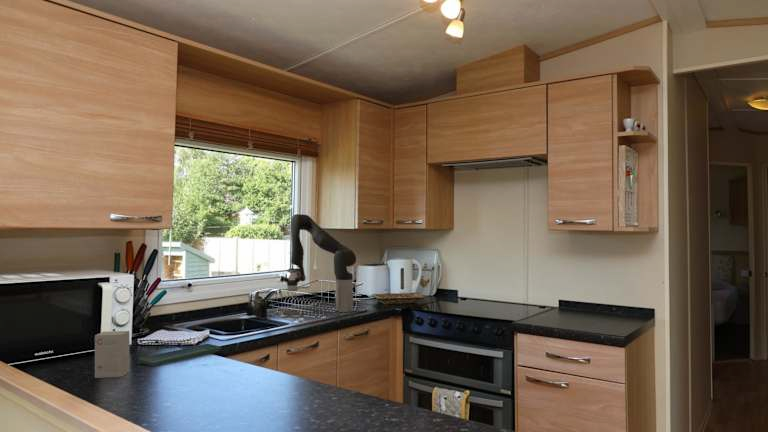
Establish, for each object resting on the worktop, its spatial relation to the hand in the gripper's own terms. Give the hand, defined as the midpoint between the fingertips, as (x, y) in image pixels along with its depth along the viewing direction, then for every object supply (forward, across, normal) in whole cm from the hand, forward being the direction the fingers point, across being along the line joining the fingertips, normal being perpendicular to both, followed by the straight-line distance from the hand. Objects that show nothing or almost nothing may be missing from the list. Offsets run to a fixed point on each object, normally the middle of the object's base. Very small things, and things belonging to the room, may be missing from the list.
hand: (291, 280), depth 278 cm
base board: (+7, 0, +18) cm, 19 cm away
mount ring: (+7, 0, +18) cm, 19 cm away
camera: (+9, -18, +18) cm, 27 cm away
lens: (-3, 0, +6) cm, 7 cm away
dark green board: (+91, -32, +18) cm, 99 cm away
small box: (+112, -48, +18) cm, 123 cm away
